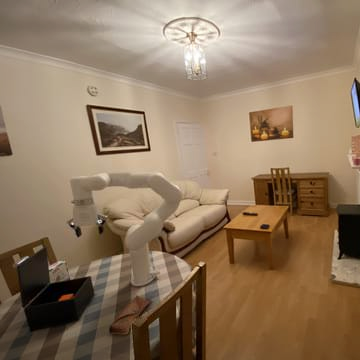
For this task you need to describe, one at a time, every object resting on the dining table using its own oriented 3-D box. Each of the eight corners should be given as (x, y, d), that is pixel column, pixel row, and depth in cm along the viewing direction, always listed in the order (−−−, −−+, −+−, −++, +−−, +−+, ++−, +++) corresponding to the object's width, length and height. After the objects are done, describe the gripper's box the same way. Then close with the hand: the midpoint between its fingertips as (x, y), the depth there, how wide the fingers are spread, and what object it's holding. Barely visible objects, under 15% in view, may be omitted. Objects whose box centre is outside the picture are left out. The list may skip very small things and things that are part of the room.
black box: (94, 294, 106) (90, 275, 104) (78, 320, 90) (73, 298, 89) (54, 302, 102) (49, 283, 100) (29, 331, 86) (23, 308, 84)
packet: (75, 302, 100) (73, 293, 100) (66, 315, 93) (63, 305, 92) (64, 304, 99) (62, 295, 99) (54, 317, 92) (52, 308, 91)
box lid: (46, 246, 98) (31, 247, 96) (19, 265, 82) (0, 267, 80) (50, 282, 100) (35, 283, 99) (24, 307, 84) (6, 310, 83)
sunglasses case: (128, 334, 82) (118, 321, 81) (116, 340, 83) (105, 328, 83) (152, 300, 99) (144, 289, 99) (142, 306, 101) (133, 295, 100)
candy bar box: (65, 287, 113) (59, 260, 110) (72, 288, 112) (66, 260, 109) (42, 303, 103) (34, 273, 100) (50, 304, 101) (43, 273, 99)
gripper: (58, 206, 95) (66, 240, 98) (101, 201, 99) (107, 235, 102) (67, 201, 103) (74, 234, 106) (106, 197, 107) (112, 229, 110)
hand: (90, 234), depth 104 cm, fingers open, 9 cm apart
